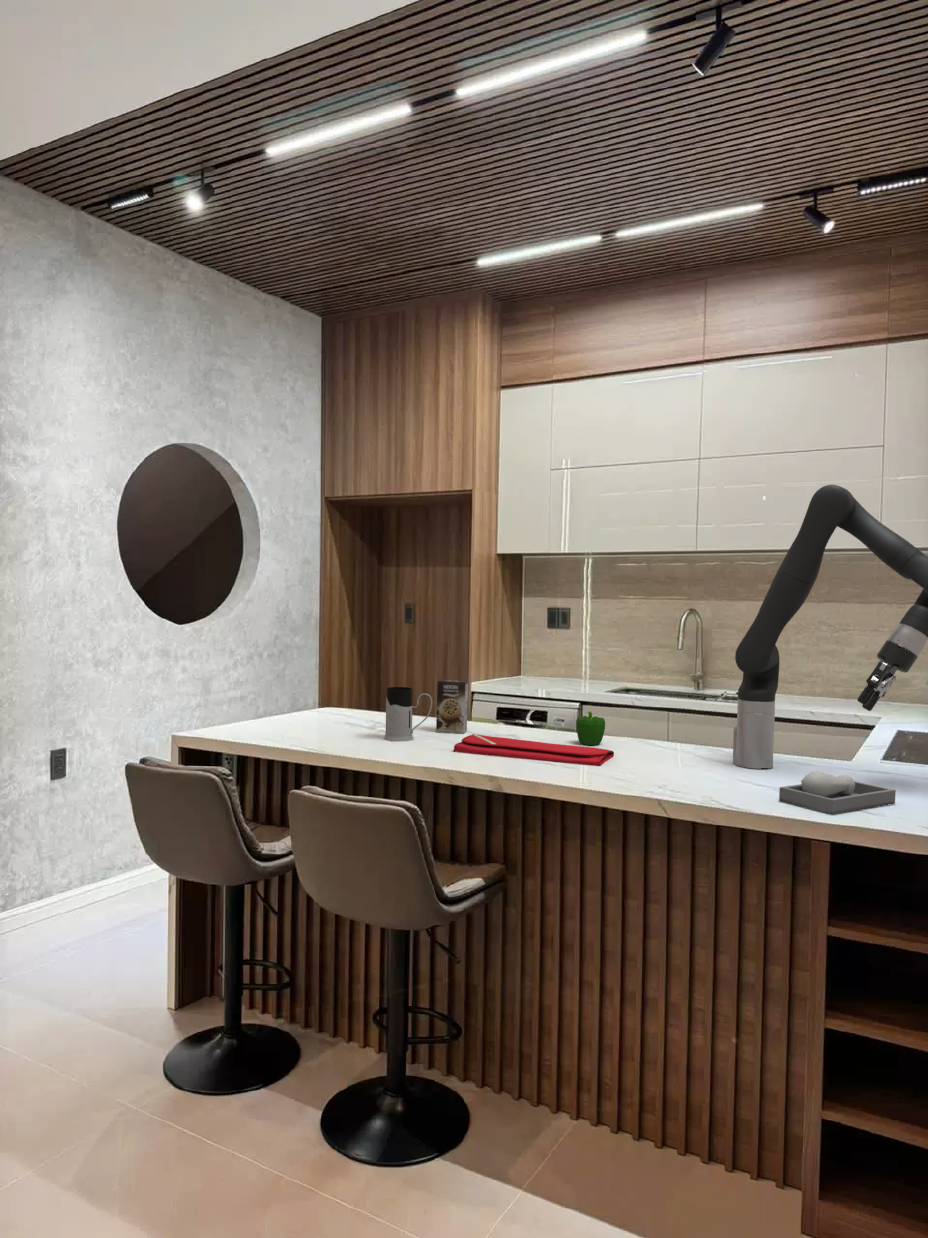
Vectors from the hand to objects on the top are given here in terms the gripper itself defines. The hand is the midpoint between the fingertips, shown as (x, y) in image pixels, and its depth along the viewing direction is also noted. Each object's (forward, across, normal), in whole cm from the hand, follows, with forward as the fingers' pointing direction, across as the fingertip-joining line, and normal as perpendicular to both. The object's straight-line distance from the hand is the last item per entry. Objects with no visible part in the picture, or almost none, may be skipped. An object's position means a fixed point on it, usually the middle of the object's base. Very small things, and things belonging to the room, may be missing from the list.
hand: (863, 706), depth 201 cm
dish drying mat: (+56, +6, -61) cm, 83 cm away
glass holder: (+75, +8, -98) cm, 123 cm away
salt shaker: (+22, +20, +3) cm, 30 cm away
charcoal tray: (+22, +15, +9) cm, 28 cm away
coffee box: (+69, -11, -98) cm, 120 cm away
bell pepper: (+47, -18, -59) cm, 78 cm away
